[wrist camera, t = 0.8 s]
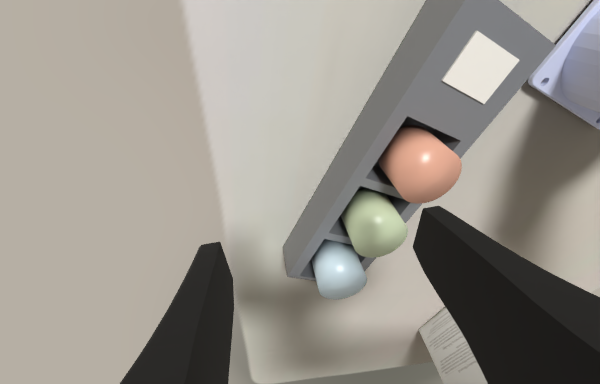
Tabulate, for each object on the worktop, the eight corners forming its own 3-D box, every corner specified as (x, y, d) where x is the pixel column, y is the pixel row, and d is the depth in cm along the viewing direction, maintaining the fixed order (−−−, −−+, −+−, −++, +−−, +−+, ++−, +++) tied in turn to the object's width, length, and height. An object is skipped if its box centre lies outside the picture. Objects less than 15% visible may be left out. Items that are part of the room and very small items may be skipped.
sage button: (397, 195, 20) (418, 224, 18) (370, 230, 22) (386, 261, 19) (356, 182, 19) (373, 212, 16) (331, 220, 20) (343, 252, 18)
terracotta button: (443, 136, 18) (474, 161, 15) (409, 180, 19) (432, 209, 17) (400, 116, 16) (427, 140, 14) (367, 166, 18) (386, 195, 16)
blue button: (361, 241, 22) (376, 273, 20) (340, 269, 24) (350, 301, 22) (323, 232, 21) (333, 265, 19) (303, 263, 23) (310, 296, 20)
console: (511, 35, 17) (558, 45, 14) (342, 258, 26) (352, 287, 24) (437, -19, 14) (477, -18, 12) (282, 247, 24) (287, 277, 22)
